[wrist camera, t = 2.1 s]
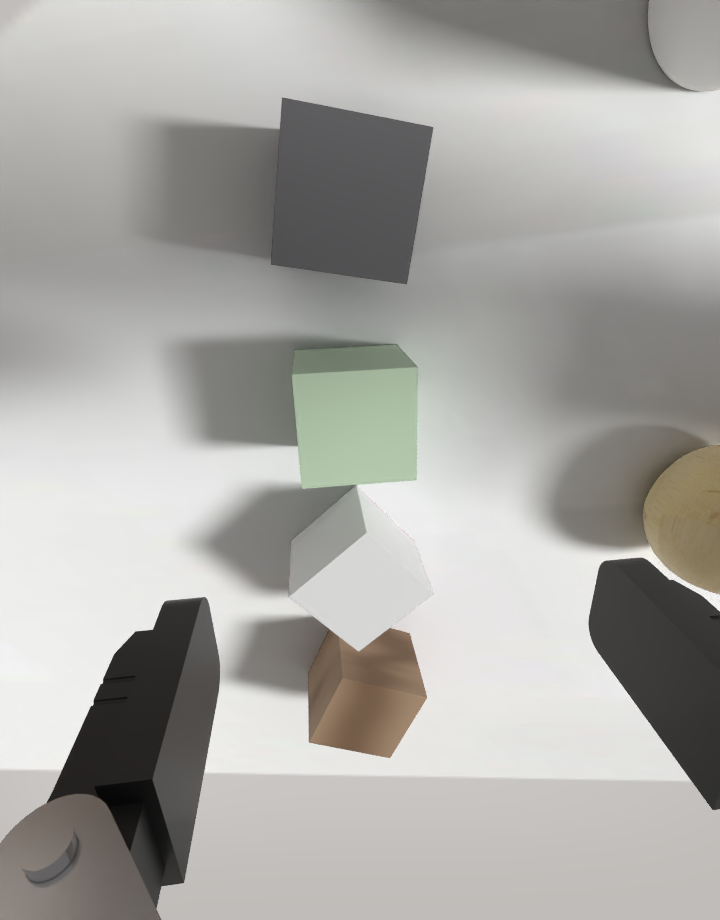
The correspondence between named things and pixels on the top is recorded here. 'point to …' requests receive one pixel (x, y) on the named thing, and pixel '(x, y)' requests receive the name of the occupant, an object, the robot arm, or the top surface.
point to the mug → (687, 41)
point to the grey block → (357, 570)
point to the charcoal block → (347, 191)
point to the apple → (687, 518)
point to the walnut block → (364, 693)
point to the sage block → (355, 415)
